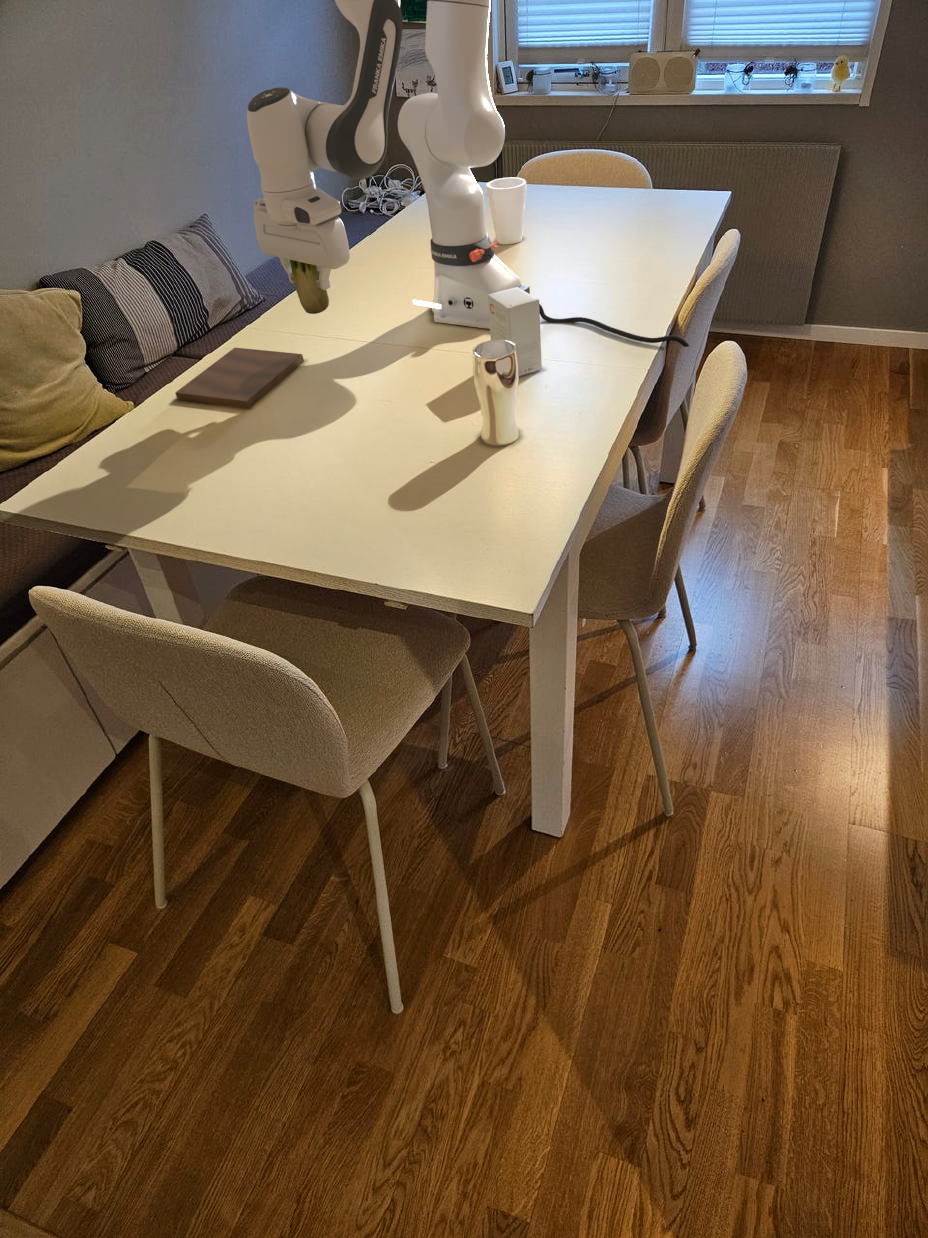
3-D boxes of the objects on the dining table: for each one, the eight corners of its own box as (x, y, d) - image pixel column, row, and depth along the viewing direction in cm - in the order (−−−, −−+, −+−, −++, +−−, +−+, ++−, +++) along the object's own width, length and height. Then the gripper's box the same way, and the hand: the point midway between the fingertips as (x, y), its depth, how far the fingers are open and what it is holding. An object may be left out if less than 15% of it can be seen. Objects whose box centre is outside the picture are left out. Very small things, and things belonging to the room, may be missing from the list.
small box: (542, 369, 158) (540, 299, 150) (512, 379, 156) (508, 308, 148) (521, 354, 164) (517, 285, 155) (491, 363, 162) (486, 294, 154)
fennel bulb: (296, 310, 158) (280, 243, 150) (319, 302, 160) (305, 234, 152) (312, 319, 154) (297, 250, 146) (336, 310, 156) (322, 241, 148)
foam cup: (535, 235, 214) (533, 178, 206) (516, 247, 209) (513, 189, 200) (502, 232, 219) (498, 176, 210) (483, 244, 213) (479, 187, 205)
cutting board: (236, 354, 176) (234, 347, 175) (304, 360, 171) (302, 353, 170) (177, 399, 162) (174, 392, 162) (248, 408, 157) (246, 401, 156)
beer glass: (476, 428, 144) (469, 342, 134) (518, 423, 144) (513, 336, 134) (481, 449, 139) (473, 361, 129) (524, 444, 139) (519, 355, 129)
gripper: (238, 201, 149) (259, 282, 158) (319, 215, 138) (336, 301, 147) (265, 190, 152) (284, 270, 161) (347, 203, 141) (362, 287, 150)
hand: (310, 285), depth 154 cm, fingers closed on fennel bulb, 6 cm apart
